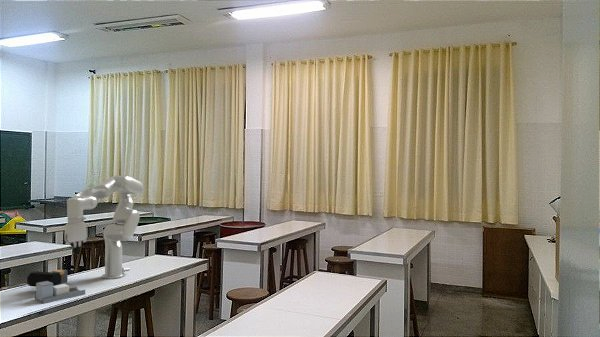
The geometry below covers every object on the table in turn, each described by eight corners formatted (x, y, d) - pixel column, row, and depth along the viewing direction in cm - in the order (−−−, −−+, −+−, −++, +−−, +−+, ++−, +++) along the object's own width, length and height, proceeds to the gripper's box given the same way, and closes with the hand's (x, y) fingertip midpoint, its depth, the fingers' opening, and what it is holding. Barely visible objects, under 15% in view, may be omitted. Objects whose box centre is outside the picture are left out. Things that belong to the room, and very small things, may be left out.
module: (64, 283, 217) (50, 286, 212) (69, 285, 213) (55, 288, 208) (63, 292, 217) (50, 295, 212) (69, 294, 213) (55, 297, 208)
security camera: (55, 295, 216) (56, 275, 216) (25, 292, 219) (26, 273, 220) (66, 291, 222) (66, 272, 223) (36, 289, 226) (36, 270, 226)
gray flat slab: (76, 290, 224) (76, 286, 224) (85, 294, 218) (85, 289, 218) (34, 299, 208) (34, 295, 208) (43, 303, 202) (43, 299, 202)
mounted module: (47, 295, 211) (47, 280, 211) (53, 298, 207) (53, 283, 207) (35, 298, 207) (36, 283, 207) (41, 300, 203) (42, 285, 203)
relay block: (60, 281, 242) (60, 269, 242) (67, 282, 240) (67, 270, 240) (51, 283, 238) (52, 271, 238) (59, 284, 235) (59, 272, 235)
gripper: (86, 218, 234) (87, 250, 235) (57, 221, 222) (58, 256, 223) (92, 219, 229) (93, 252, 230) (64, 223, 217) (65, 258, 218)
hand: (76, 254), depth 227 cm, fingers closed
